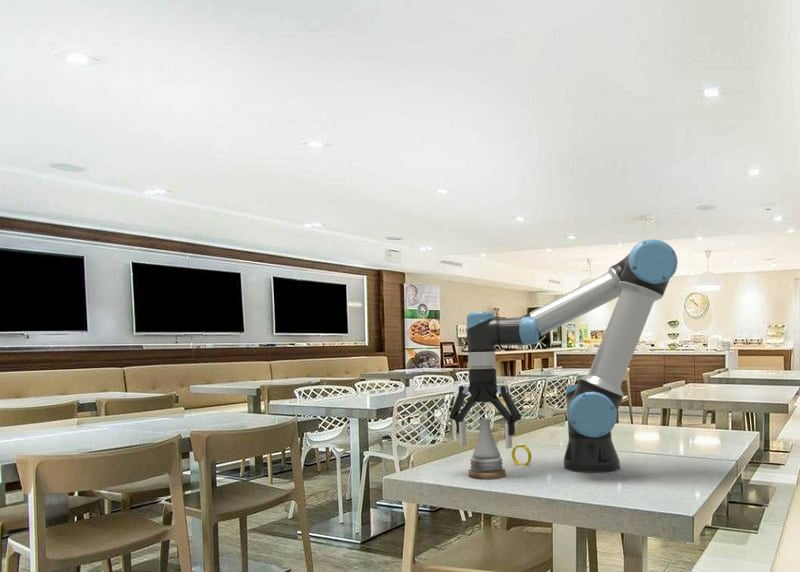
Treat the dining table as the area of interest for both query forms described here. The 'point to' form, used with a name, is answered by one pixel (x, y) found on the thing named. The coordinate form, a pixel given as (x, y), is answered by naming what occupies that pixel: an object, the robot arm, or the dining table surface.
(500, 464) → the pedestal
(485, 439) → the flask
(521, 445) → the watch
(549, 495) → the dining table surface
